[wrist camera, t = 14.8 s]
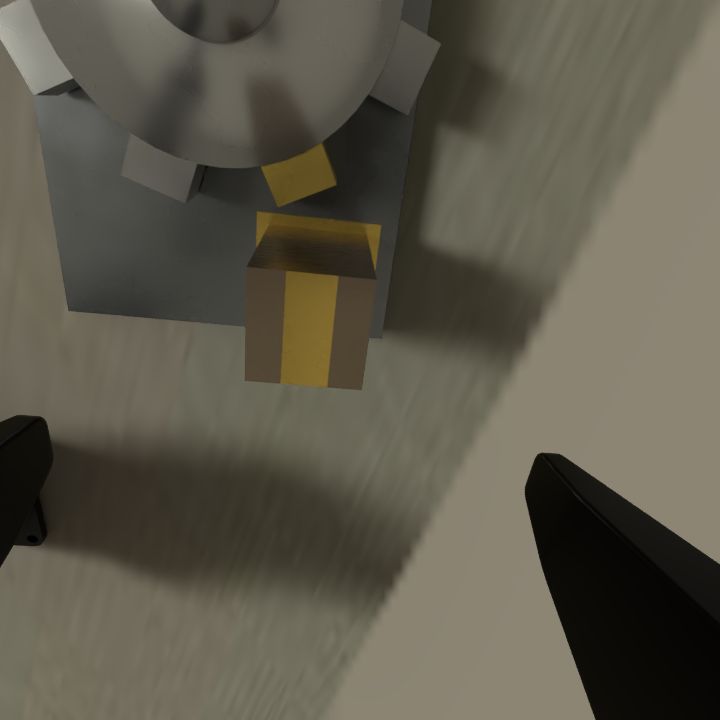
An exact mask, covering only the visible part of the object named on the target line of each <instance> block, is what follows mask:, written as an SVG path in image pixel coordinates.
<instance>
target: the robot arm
mask: <svg viewBox="0 0 720 720" xmlns="http://www.w3.org/2000/svg"><path fill="white" fill-rule="evenodd" d="M52 463H53V449H52V445H51V440H50V435H49V430H48V426H47V422H46V421H45V419H44V418H42V417H40V416H28V415H16V416H14V417H11V418H9V419H6V420H4V421H2V422H0V567H1V565H2V564H3V562H4V560H5V559H6V557H7V555H8V554H9V552H10V550H11V549H12V547H13V545H22V546H39V545H41V544H42V543H43V541H44V540H45V538H46V537H47V531H46V527H45V522H44V518H43V514H42V510H41V505H40V501H39V497H38V494H39V492H40V490H41V488H42V486H43V484H44V482H45V480H46V478H47V475H48V473H49V471H50V469H51V467H52ZM525 498H526V503H527V507H528V511H529V516H530V520H531V524H532V528H533V533H534V537H535V541H536V545H537V549H538V554H539V558H540V562H541V565H542V569H543V572H544V575H545V579H546V581H547V585H548V587H549V590H550V593H551V596H552V599H553V601H554V604H555V607H556V610H557V613H558V616H559V618H560V621H561V624H562V627H563V629H564V632H565V635H566V638H567V641H568V644H569V647H570V649H571V652H572V655H573V658H574V661H575V663H576V666H577V669H578V672H579V675H580V677H581V680H582V683H583V686H584V689H585V692H586V694H587V697H588V700H589V703H590V706H591V709H592V711H593V714H594V717H595V719H596V720H720V564H719V563H717V562H716V561H714V560H713V559H711V558H710V557H708V556H707V555H706V554H704V553H702V552H701V551H700V550H698V549H697V548H695V547H694V546H692V545H691V544H690V543H688V542H687V541H685V540H684V539H682V538H681V537H679V536H678V535H677V534H675V533H674V532H672V531H671V530H669V529H668V528H666V527H665V526H664V525H662V524H661V523H659V522H658V521H656V520H655V519H653V518H652V517H651V516H649V515H648V514H646V513H645V512H643V511H642V510H640V509H639V508H637V507H636V506H635V505H633V504H632V503H630V502H629V501H627V500H626V499H624V498H623V497H622V496H620V495H619V494H617V493H616V492H614V491H613V490H612V489H610V488H609V487H607V486H606V485H604V484H603V483H601V482H600V481H599V480H597V479H596V478H594V477H593V476H591V475H590V474H588V473H587V472H586V471H584V470H583V469H581V468H580V467H578V466H577V465H575V464H574V463H573V462H571V461H570V460H568V459H567V458H565V457H564V456H562V455H560V454H554V453H540V454H538V455H537V456H536V458H535V460H534V463H533V465H532V469H531V471H530V474H529V477H528V480H527V482H526V486H525Z"/></svg>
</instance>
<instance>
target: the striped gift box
mask: <svg viewBox="0 0 720 720" xmlns="http://www.w3.org/2000/svg"><path fill="white" fill-rule="evenodd" d="M376 283H377V278H376V273H375V269H374V264H373V260H372V255H371V251H370V246H369V242H368V237H367V235H361V234H351V233H342V232H333V231H324V230H315V229H305V228H296V227H287V226H278V225H269V226H268V227H267V229H266V231H265V233H264V235H263V237H262V239H261V241H260V242H259V244H258V246H257V248H256V250H255V252H254V254H253V255H252V257H251V259H250V261H249V263H248V265H247V267H246V335H245V381H256V382H268V383H281V384H293V385H306V386H318V387H331V388H343V389H356V390H362V384H363V377H364V370H365V362H366V355H367V348H368V341H369V334H370V326H371V319H372V312H373V305H374V298H375V291H376Z"/></svg>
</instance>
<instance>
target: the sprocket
mask: <svg viewBox="0 0 720 720" xmlns="http://www.w3.org/2000/svg"><path fill="white" fill-rule="evenodd" d="M403 1H404V0H17V1H15V2H13V3H11V4H9V5H7V6H5V7H3V8H0V39H1V40H2V42H3V44H4V46H5V47H6V49H7V51H8V52H9V54H10V56H11V57H12V59H13V61H14V62H15V64H16V66H17V68H18V69H19V71H20V73H21V74H22V76H23V78H24V79H25V81H26V83H27V84H28V86H29V88H30V89H31V91H32V93H33V95H47V96H59V95H61V94H63V93H65V92H68V91H70V90H72V89H75V88H77V87H79V86H81V87H82V89H83V90H84V91H85V92H86V93H87V94H88V96H89V97H90V98H91V99H92V100H93V101H94V102H95V103H96V104H97V105H98V106H99V107H100V108H101V109H102V110H103V111H104V112H105V113H107V114H108V115H109V116H110V117H111V118H112V119H113V120H114V121H116V122H117V123H118V124H120V125H121V126H122V127H124V128H125V129H126V130H128V131H129V132H130V133H131V134H130V139H129V143H128V147H127V151H126V155H125V159H124V163H123V167H122V171H121V175H122V176H124V177H126V178H129V179H131V180H133V181H135V182H138V183H140V184H142V185H144V186H147V187H149V188H151V189H153V190H156V191H158V192H160V193H163V194H165V195H167V196H169V197H172V198H174V199H176V200H178V201H181V202H183V203H187V202H188V201H189V200H191V199H192V198H194V197H195V196H196V195H197V192H198V189H199V185H200V182H201V179H202V176H203V173H204V169H205V166H206V165H208V166H214V167H219V168H250V167H259V166H261V169H262V171H263V173H264V176H265V178H266V180H267V183H268V185H269V187H270V190H271V192H272V194H273V197H274V199H275V201H276V204H277V206H278V207H280V206H283V205H286V204H288V203H291V202H293V201H296V200H299V199H301V198H304V197H306V196H309V195H312V194H314V193H317V192H319V191H322V190H325V189H327V188H330V187H332V186H335V185H337V177H336V175H335V172H334V169H333V166H332V164H331V161H330V158H329V155H328V152H327V150H326V147H325V144H324V140H325V139H326V138H328V137H329V136H330V135H331V134H333V133H334V132H335V131H336V130H338V129H339V128H340V127H341V126H342V125H343V124H344V123H345V122H346V121H347V120H348V119H349V118H350V117H351V116H352V115H353V114H354V112H355V111H356V110H357V109H358V108H359V106H360V105H361V103H362V102H363V101H364V99H365V98H366V97H367V95H368V96H370V97H372V98H373V99H375V100H377V101H379V102H381V103H383V104H385V105H386V106H388V107H390V108H392V109H394V110H396V111H398V112H399V113H401V114H404V115H408V114H409V112H410V110H411V108H412V106H413V103H414V101H415V99H416V97H417V95H418V93H419V90H420V88H421V86H422V84H423V82H424V80H425V77H426V75H427V73H428V71H429V69H430V67H431V65H432V62H433V60H434V58H435V56H436V54H437V52H438V49H439V47H440V45H441V43H439V42H438V41H436V40H434V39H433V38H431V37H429V36H428V35H426V34H424V33H422V32H421V31H419V30H417V29H416V28H414V27H412V26H410V25H409V24H407V23H405V22H404V21H402V20H400V18H401V13H402V7H403Z"/></svg>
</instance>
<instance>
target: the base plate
mask: <svg viewBox="0 0 720 720" xmlns="http://www.w3.org/2000/svg"><path fill="white" fill-rule="evenodd" d="M431 6H432V0H404V1H403V7H402V13H401V18H400V20H402V21H404V22H405V23H407V24H409V25H410V26H412V27H414V28H416V29H417V30H419V31H421V32H422V33H424V34H426V35H427V32H428V26H429V19H430V12H431ZM33 98H34V104H35V110H36V116H37V122H38V128H39V134H40V141H41V147H42V153H43V159H44V165H45V171H46V177H47V183H48V189H49V195H50V202H51V208H52V214H53V220H54V226H55V232H56V238H57V244H58V250H59V256H60V262H61V269H62V275H63V281H64V287H65V293H66V299H67V305H68V311H76V312H88V313H99V314H110V315H122V316H133V317H144V318H156V319H167V320H178V321H190V322H201V323H212V324H224V325H235V326H246V267H247V265H248V263H249V261H250V259H251V257H252V255H253V254H254V252H255V250H256V248H257V246H258V244H259V242H260V241H261V239H262V237H263V235H264V233H265V231H266V229H267V227H268V226H269V225H278V226H287V227H296V228H305V229H315V230H324V231H333V232H342V233H351V234H361V235H367V237H368V242H369V246H370V251H371V255H372V260H373V264H374V269H375V273H376V278H377V283H376V291H375V298H374V305H373V312H372V319H371V326H370V334H369V337H371V338H382V332H383V326H384V319H385V312H386V306H387V299H388V292H389V286H390V279H391V272H392V266H393V259H394V252H395V246H396V239H397V232H398V226H399V219H400V212H401V206H402V199H403V192H404V186H405V179H406V172H407V166H408V159H409V152H410V146H411V139H412V132H413V126H414V119H415V112H416V106H417V99H418V95H417V97H416V99H415V101H414V103H413V106H412V108H411V110H410V112H409V114H408V115H404V114H401V113H399V112H398V111H396V110H394V109H392V108H390V107H388V106H386V105H385V104H383V103H381V102H379V101H377V100H375V99H373V98H372V97H370V96H368V95H367V97H366V98H365V99H364V101H363V102H362V103H361V105H360V106H359V108H358V109H357V110H356V111H355V112H354V114H353V115H352V116H351V117H350V118H349V119H348V120H347V121H346V122H345V123H344V124H343V125H342V126H341V127H340V128H339V129H338V130H336V131H335V132H334V133H333V134H331V135H330V136H329V137H328V138H326V139H325V140H324V144H325V147H326V150H327V152H328V155H329V158H330V161H331V164H332V166H333V169H334V172H335V175H336V177H337V185H335V186H332V187H330V188H327V189H325V190H322V191H319V192H317V193H314V194H312V195H309V196H306V197H304V198H301V199H299V200H296V201H293V202H291V203H288V204H286V205H283V206H280V207H278V206H277V204H276V201H275V199H274V197H273V194H272V192H271V190H270V187H269V185H268V183H267V180H266V178H265V176H264V173H263V171H262V169H261V166H259V167H250V168H219V167H214V166H208V165H206V166H205V169H204V173H203V176H202V179H201V182H200V185H199V189H198V192H197V195H196V196H195V197H194V198H192V199H191V200H189V201H188V202H187V203H183V202H181V201H178V200H176V199H174V198H172V197H169V196H167V195H165V194H163V193H160V192H158V191H156V190H153V189H151V188H149V187H147V186H144V185H142V184H140V183H138V182H135V181H133V180H131V179H129V178H126V177H124V176H122V175H121V171H122V167H123V163H124V159H125V155H126V151H127V147H128V143H129V139H130V134H131V133H130V132H129V131H128V130H126V129H125V128H124V127H122V126H121V125H120V124H118V123H117V122H116V121H114V120H113V119H112V118H111V117H110V116H109V115H108V114H107V113H105V112H104V111H103V110H102V109H101V108H100V107H99V106H98V105H97V104H96V103H95V102H94V101H93V100H92V99H91V98H90V97H89V96H88V94H87V93H86V92H85V91H84V90H83V89H82V87H81V86H79V87H77V88H75V89H72V90H70V91H68V92H65V93H63V94H61V95H59V96H47V95H33Z"/></svg>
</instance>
